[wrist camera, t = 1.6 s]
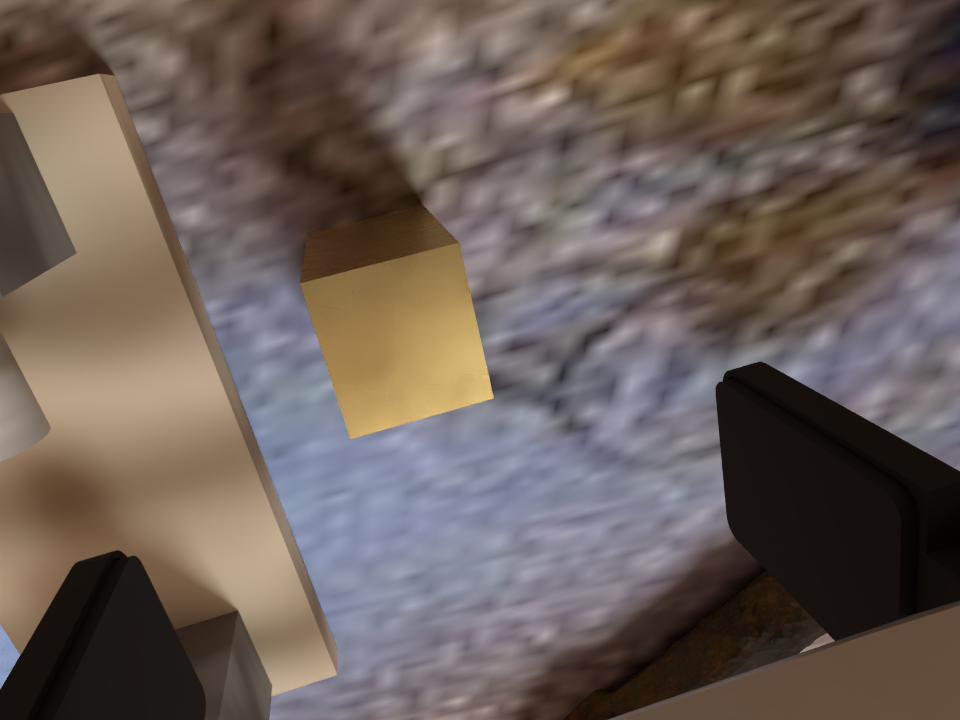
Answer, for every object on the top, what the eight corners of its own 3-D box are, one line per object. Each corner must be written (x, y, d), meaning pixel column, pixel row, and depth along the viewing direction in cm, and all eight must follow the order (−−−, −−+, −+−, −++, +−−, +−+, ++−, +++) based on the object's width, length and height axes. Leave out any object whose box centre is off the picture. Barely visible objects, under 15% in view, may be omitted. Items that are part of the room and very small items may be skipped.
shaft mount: (-252, 153, 19) (-520, 176, 13) (114, 75, 20) (24, 63, 14) (97, 724, 28) (34, 894, 22) (336, 647, 29) (339, 788, 23)
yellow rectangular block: (307, 233, 23) (299, 283, 16) (422, 204, 23) (458, 242, 17) (344, 351, 24) (350, 439, 18) (450, 322, 25) (493, 398, 18)
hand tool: (807, 503, 32) (880, 564, 28) (839, 554, 34) (912, 619, 29) (491, 736, 33) (514, 829, 29) (536, 775, 35) (564, 868, 30)
